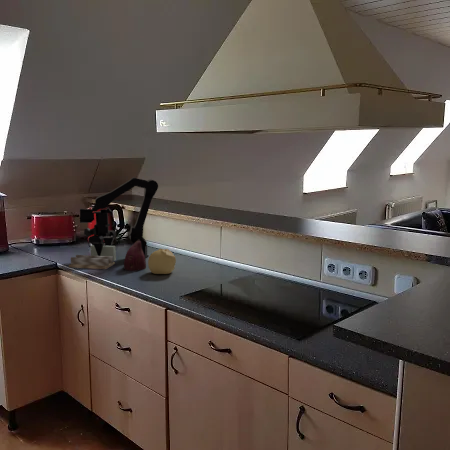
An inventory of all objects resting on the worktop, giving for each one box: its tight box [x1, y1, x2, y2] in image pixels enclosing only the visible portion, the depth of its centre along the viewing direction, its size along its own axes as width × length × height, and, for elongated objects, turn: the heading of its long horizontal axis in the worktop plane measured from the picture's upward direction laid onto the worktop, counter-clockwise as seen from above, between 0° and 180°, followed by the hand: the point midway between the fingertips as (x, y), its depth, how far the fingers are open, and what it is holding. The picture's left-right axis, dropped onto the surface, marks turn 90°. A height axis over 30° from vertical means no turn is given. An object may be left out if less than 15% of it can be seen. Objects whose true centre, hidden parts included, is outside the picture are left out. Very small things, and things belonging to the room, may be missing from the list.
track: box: [68, 254, 116, 270], centre depth 223 cm, size 18×10×4 cm, turn 79°
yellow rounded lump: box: [147, 248, 177, 275], centre depth 210 cm, size 11×12×11 cm
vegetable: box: [123, 240, 147, 272], centre depth 218 cm, size 10×10×15 cm
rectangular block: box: [89, 244, 117, 262], centre depth 235 cm, size 12×2×7 cm, turn 79°
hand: (103, 253), depth 235 cm, fingers open, 9 cm apart
